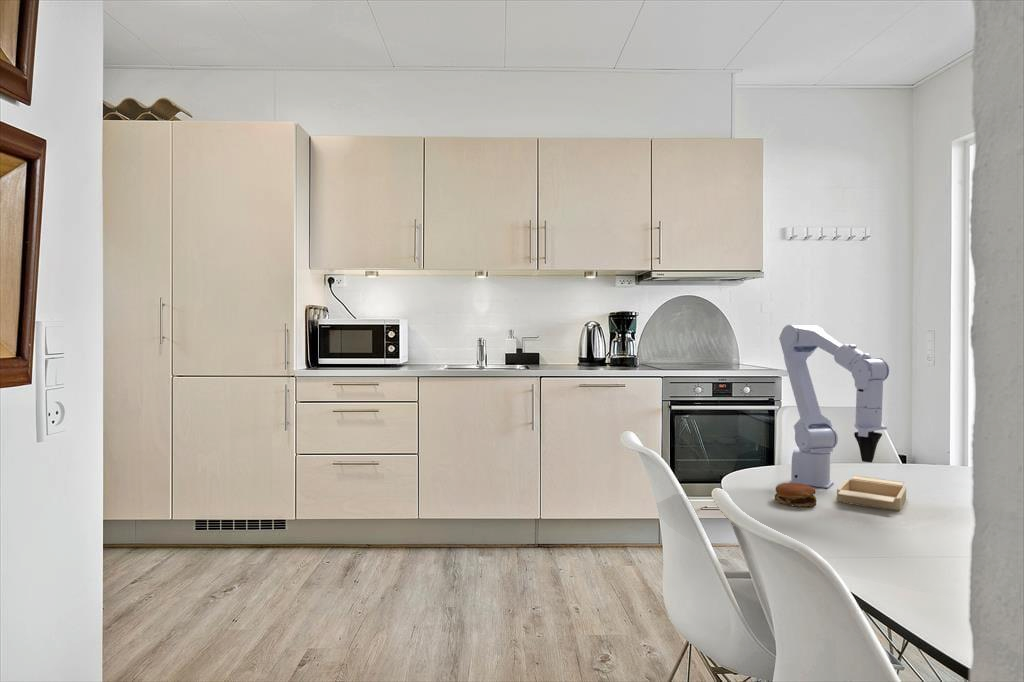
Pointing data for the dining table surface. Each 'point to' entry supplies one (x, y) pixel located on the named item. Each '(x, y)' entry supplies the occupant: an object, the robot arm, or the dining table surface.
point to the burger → (795, 494)
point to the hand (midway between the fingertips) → (867, 461)
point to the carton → (873, 489)
